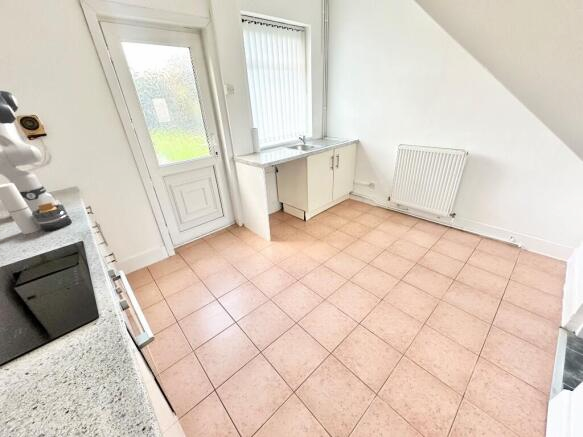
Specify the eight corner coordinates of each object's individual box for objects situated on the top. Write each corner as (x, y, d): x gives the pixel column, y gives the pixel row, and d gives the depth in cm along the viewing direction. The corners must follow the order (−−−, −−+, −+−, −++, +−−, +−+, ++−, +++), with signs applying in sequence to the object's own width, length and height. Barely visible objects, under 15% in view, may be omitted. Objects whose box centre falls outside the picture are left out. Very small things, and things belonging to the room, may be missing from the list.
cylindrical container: (29, 234, 121) (-2, 188, 110) (19, 233, 123) (-13, 188, 111) (45, 227, 127) (17, 183, 116) (35, 226, 129) (6, 182, 117)
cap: (58, 208, 129) (54, 200, 126) (57, 212, 124) (52, 203, 121) (42, 212, 125) (37, 203, 123) (40, 216, 120) (34, 207, 118)
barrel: (44, 225, 129) (34, 209, 125) (72, 218, 136) (63, 202, 131) (40, 234, 121) (29, 216, 116) (71, 226, 127) (61, 209, 122)
